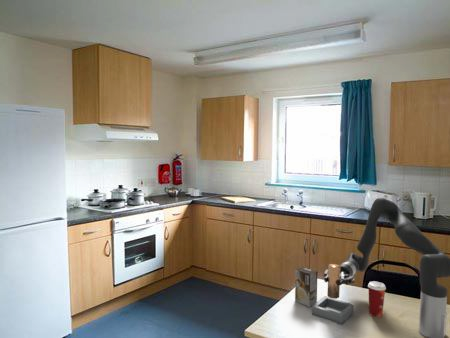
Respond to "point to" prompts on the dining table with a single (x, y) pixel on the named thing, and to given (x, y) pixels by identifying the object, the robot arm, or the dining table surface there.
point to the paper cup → (376, 298)
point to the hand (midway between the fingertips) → (331, 281)
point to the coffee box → (306, 286)
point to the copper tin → (333, 281)
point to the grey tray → (333, 310)
